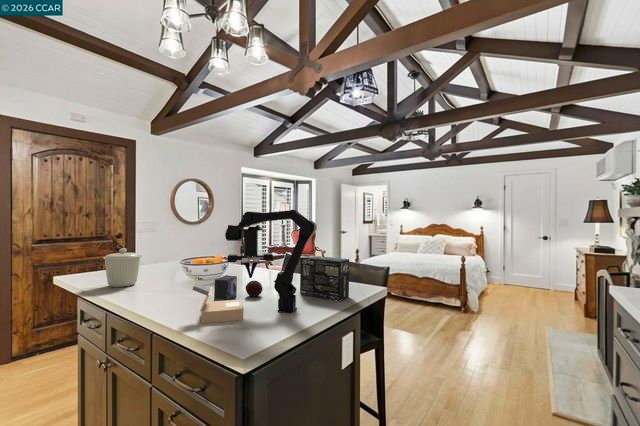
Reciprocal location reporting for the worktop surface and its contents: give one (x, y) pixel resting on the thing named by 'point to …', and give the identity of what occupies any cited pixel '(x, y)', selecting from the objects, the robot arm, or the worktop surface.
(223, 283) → the small box
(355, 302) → the worktop surface
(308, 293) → the box
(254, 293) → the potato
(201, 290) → the flap
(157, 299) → the worktop surface
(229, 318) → the carton
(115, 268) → the canister
